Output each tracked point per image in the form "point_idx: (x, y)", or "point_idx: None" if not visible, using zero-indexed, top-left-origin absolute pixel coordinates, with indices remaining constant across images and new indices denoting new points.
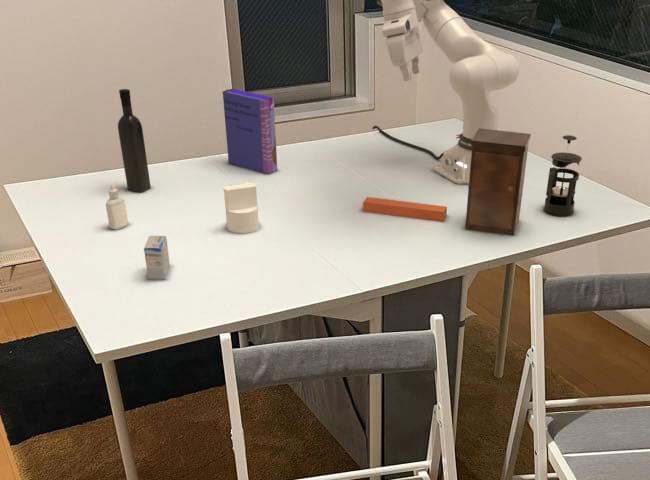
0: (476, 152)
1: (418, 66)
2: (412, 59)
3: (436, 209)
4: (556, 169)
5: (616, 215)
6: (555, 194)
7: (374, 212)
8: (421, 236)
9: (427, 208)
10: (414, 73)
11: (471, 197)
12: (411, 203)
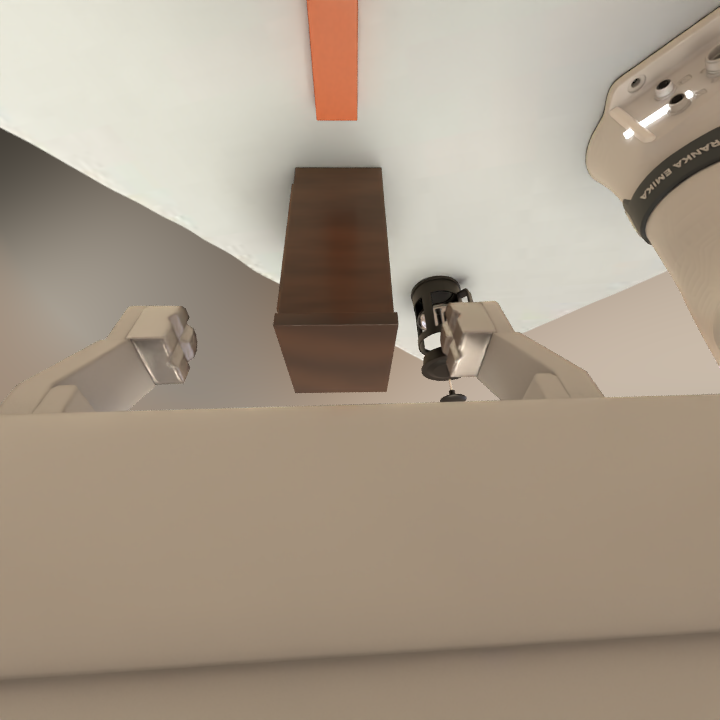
0: (277, 311)
1: (474, 375)
2: (527, 396)
3: (325, 94)
4: None
5: (431, 342)
6: (422, 314)
7: None
8: (193, 66)
9: (322, 63)
10: (448, 312)
11: (287, 225)
12: None
